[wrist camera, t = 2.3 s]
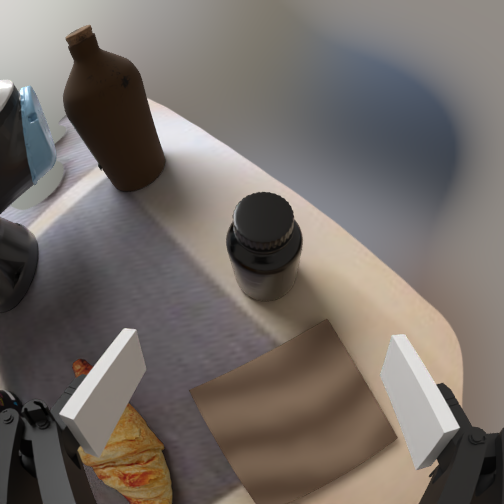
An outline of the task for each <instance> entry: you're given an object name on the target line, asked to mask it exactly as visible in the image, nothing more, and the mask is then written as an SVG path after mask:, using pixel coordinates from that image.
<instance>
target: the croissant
mask: <svg viewBox="0 0 504 504" xmlns="http://www.w3.org/2000/svg"><path fill="white" fill-rule="evenodd" d="M72 368H73V371H74V373H75V377H76V378H77V377H78V376H80V375H81V374H85V375H88V374H89V372H90V371H91V370H92V368H93V367H92V366H91V365H90V364H89V363H88V362H87V361H86V360H84V359H78V360H77V361H75V362H74V363H73V367H72ZM163 449H164V445H163V443H162V442H161V441H160V440H159V439H158V438H157V437H156V435H155V434H154V433H153V432H152V431H151V430H150V429H149V428H148V426H147V424H146V422H145V420H144V419H143V418H142V417H141V416H140V414H139V413H138V412H137V411H136V410H135V409H134V408H133V407H132V406H131V405H130V404H129V403H128V404H127V406H126V408H125V410H124V412H123V413H122V415H121V417H120V419H119V421H118V423H117V425H116V427H115V429H114V431H113V432H112V434H111V436H110V438H109V440H108V442H107V444H106V446H105V448H104V450H103V452H102V454H101V456H100V458H98V457H95V456H92V455H90V454H87V453H85V452H84V450H83V449H82V448H81V446H80V447H79V449H78V450H77V451H78V452H79V454H80V457H81V460H82V462H83V463H84V464H85V465H87V466H91V467H92V468H93V470H94V472H95V473H96V474H97V476H98V478H99V479H100V480H102V481H103V482H104V483H105V484H106V485H108V486H110V487H112V488H114V489H116V490H118V491H119V492H120V493H121V494H122V495H123V496H124V497H125V498H126V499H127V500H128V501H129V503H130V504H172V488H171V480H170V473H169V470H168V467H167V465H166V461H165V458H164V455H163V453H162V450H163Z"/></svg>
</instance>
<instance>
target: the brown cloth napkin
mask: <svg viewBox="0 0 504 504" xmlns="http://www.w3.org/2000/svg"><path fill="white" fill-rule="evenodd" d="M189 391H190V393H191V395H192V397H193V399H194V401H195V403H196V405H197V407H198V409H199V411H200V413H201V414H202V416H203V418H204V420H205V422H206V424H207V426H208V427H209V429H210V431H211V433H212V435H213V436H214V438H215V440H216V442H217V443H218V445H219V447H220V449H221V450H222V452H223V454H224V455H225V457H226V459H227V460H228V462H229V464H230V465H231V467H232V468H233V470H234V472H235V473H236V475H237V476H238V478H239V479H240V481H241V482H242V484H243V485H244V487H245V488H246V490H247V491H248V493H249V494H250V496H251V497H252V499H253V500H254V502H255V503H256V504H287V503H289V502H292V501H294V500H296V499H298V498H300V497H303V496H305V495H307V494H309V493H311V492H313V491H315V490H317V489H319V488H321V487H322V486H324V485H326V484H328V483H330V482H332V481H333V480H335V479H337V478H339V477H340V476H342V475H344V474H346V473H347V472H349V471H350V470H352V469H354V468H355V467H357V466H358V465H360V464H362V463H363V462H365V461H366V460H368V459H369V458H371V457H372V456H374V455H375V454H376V453H378V452H379V451H381V450H382V449H384V448H385V447H386V446H388V445H389V444H390V443H392V442H393V441H394V440H396V439H397V438H398V437H397V436H396V434H395V432H394V430H393V429H392V427H391V425H390V423H389V422H388V420H387V418H386V416H385V415H384V413H383V411H382V409H381V408H380V406H379V404H378V402H377V401H376V399H375V397H374V396H373V394H372V392H371V390H370V389H369V387H368V385H367V384H366V382H365V380H364V379H363V377H362V375H361V374H360V372H359V370H358V369H357V367H356V365H355V363H354V362H353V360H352V358H351V357H350V355H349V354H348V352H347V350H346V349H345V347H344V345H343V344H342V342H341V340H340V339H339V337H338V335H337V334H336V332H335V331H334V329H333V327H332V326H331V324H330V322H329V321H328V319H326V320H324V321H322V322H321V323H319V324H317V325H316V326H314V327H312V328H311V329H309V330H307V331H305V332H304V333H302V334H300V335H298V336H297V337H295V338H293V339H291V340H290V341H288V342H286V343H284V344H282V345H280V346H279V347H277V348H275V349H273V350H271V351H269V352H267V353H265V354H264V355H262V356H260V357H258V358H256V359H254V360H252V361H250V362H248V363H246V364H244V365H242V366H240V367H238V368H236V369H234V370H232V371H230V372H228V373H226V374H223V375H221V376H219V377H217V378H215V379H213V380H211V381H208V382H206V383H204V384H202V385H200V386H197V387H195V388H193V389H191V390H189Z"/></svg>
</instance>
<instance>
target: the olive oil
mask: <svg viewBox="0 0 504 504" xmlns="http://www.w3.org/2000/svg"><path fill="white" fill-rule="evenodd" d="M66 41H67V42H68V44H69V46H68V48H69V51H70V53H71V55H72V57H73V59H74V65H73V68H72V70H71V73H70V75H69V78H68V81H67V84H66V86H65V90H64V94H63V102H64V108H65V112H66V115H67V117H68V119H69V120H70V122H71V123H72V125H73V126H74V128H75V129H76V131H77V132H78V134H79V135H80V137H81V138H82V140H83V141H84V143H85V144H86V146H87V147H88V149H89V150H90V152H91V153H92V155H93V156H94V158H95V159H96V160H97V162H98V167H99V168H100V169H103V171H104V172H105V174H106V175H107V177H108V178H109V179H110V181H111V182H112V184H113V185H114V186H115V187H116V188H117V189H119V190H121V191H135V190H138V189H141V188H143V187H145V186H147V185H149V184H150V183H152V182H153V181H154V180H155V179H156V178H157V177H158V176H159V175H160V173H161V172H162V170H163V168H164V165H165V156H164V153H163V150H162V147H161V144H160V141H159V138H158V135H157V132H156V129H155V125H154V122H153V118H152V115H151V112H150V108H149V104H148V101H147V97H146V93H145V89H144V85H143V81H142V78H141V75H140V73H139V71H138V70H137V68H136V67H135V66H134V64H133V63H132V62H131V61H129V60H128V59H126V58H124V57H121V56H119V55H116V54H113V53H110V52H107V51H104V50H102V49H100V48H99V46H98V43H97V40H96V37H95V34H94V33H92V28H91V25H87V26H84V27H81V28H79V29H77V30H75V31H74V32H72V33H70V34H69V35H68V36H67V37H66ZM101 171H102V170H101Z"/></svg>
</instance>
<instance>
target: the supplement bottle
mask: <svg viewBox="0 0 504 504" xmlns="http://www.w3.org/2000/svg"><path fill="white" fill-rule="evenodd" d="M302 245H303V237H302V232H301V229H300V227H299V225H298V223H297V222H296V221H295V219H294V215H293V210H292V207H291V206H290V205H289V203H288V202H287V201H286V200H285V199H284V198H282V197H281V196H279V195H276V194H274V193H270V192H267V193H266V192H261V193H260V192H258V193H253V194H251V195H248V196H247V197H246V198H243V199H242V201H240V202H239V203H238V205H237V206H236V209H235V210H234V214H233V222H232V224H231V225H230V227H229V230H228V232H227V237H226V246H227V251H228V255H229V258H230V261H231V264H232V267H233V271H234V274H235V277H236V280H237V283H238V285H239V287H240V288H241V290H242V291H243V292H244V293H245V294H246V295H248V296H249V297H251V298H253V299H256V300H259V301H272V300H276V299H278V298H281V297H282V296H284V295H285V294H286V293H288V291H289V290H290V289H291V288H292V286H293V284H294V282H295V279H296V275H297V270H298V266H299V261H300V256H301V251H302Z"/></svg>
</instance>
